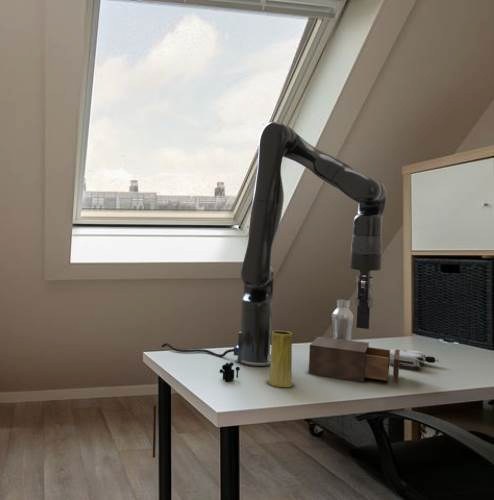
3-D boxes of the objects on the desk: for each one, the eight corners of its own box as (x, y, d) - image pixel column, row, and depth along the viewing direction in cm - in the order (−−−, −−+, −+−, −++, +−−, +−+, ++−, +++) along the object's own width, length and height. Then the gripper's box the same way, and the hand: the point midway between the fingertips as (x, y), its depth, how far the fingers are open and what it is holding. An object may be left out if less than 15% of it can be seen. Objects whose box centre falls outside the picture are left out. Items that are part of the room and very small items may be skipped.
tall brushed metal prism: (353, 327, 131) (354, 296, 131) (354, 326, 133) (355, 295, 133) (371, 329, 129) (373, 298, 129) (372, 328, 131) (373, 297, 131)
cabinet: (367, 370, 146) (368, 342, 146) (363, 382, 133) (365, 352, 133) (316, 362, 154) (317, 336, 153) (308, 373, 141) (309, 344, 141)
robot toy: (402, 360, 163) (376, 361, 155) (404, 347, 163) (377, 348, 155) (441, 369, 152) (414, 371, 145) (442, 355, 152) (415, 356, 145)
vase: (280, 388, 126) (282, 335, 126) (263, 382, 131) (265, 331, 131) (296, 386, 129) (298, 333, 128) (279, 379, 134) (281, 329, 134)
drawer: (418, 375, 139) (419, 352, 138) (419, 387, 127) (420, 362, 127) (348, 365, 148) (349, 343, 148) (343, 375, 137) (344, 352, 136)
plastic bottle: (355, 364, 153) (357, 302, 152) (332, 362, 154) (334, 301, 154) (349, 359, 159) (351, 299, 159) (328, 357, 161) (330, 298, 160)
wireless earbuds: (220, 383, 130) (221, 364, 130) (214, 380, 132) (215, 362, 132) (240, 379, 133) (241, 362, 133) (234, 377, 135) (235, 359, 135)
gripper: (353, 251, 138) (350, 310, 139) (348, 252, 126) (345, 317, 127) (382, 252, 134) (379, 313, 135) (380, 253, 122) (377, 320, 123)
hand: (363, 314), depth 131 cm, fingers closed on tall brushed metal prism, 2 cm apart
